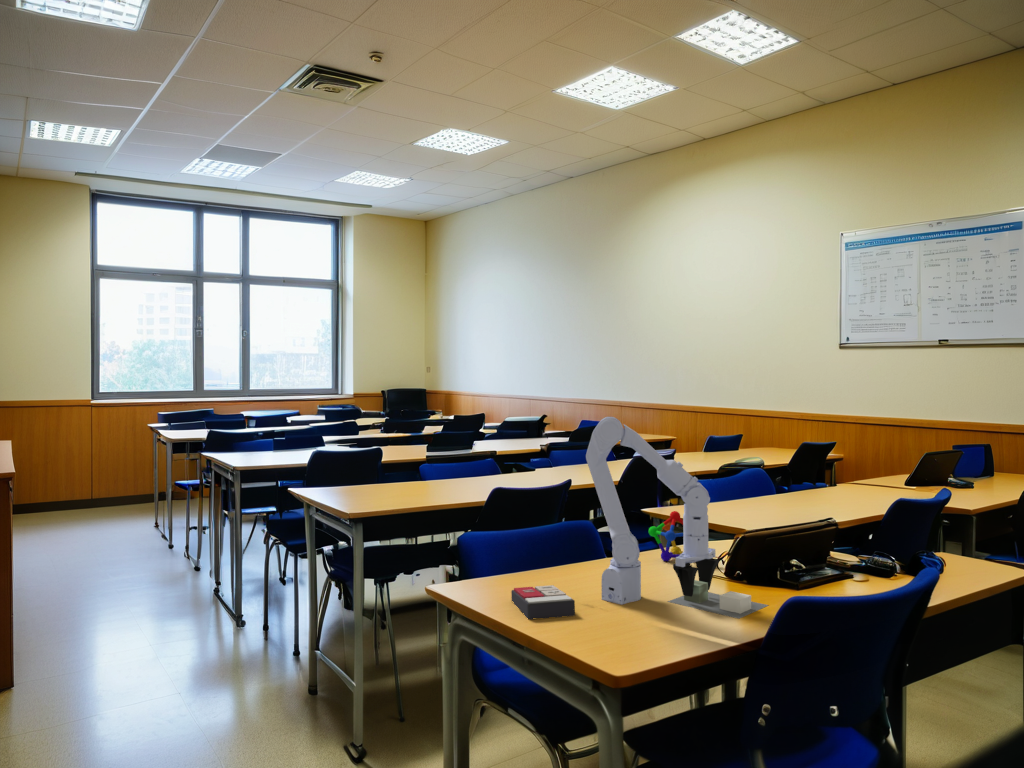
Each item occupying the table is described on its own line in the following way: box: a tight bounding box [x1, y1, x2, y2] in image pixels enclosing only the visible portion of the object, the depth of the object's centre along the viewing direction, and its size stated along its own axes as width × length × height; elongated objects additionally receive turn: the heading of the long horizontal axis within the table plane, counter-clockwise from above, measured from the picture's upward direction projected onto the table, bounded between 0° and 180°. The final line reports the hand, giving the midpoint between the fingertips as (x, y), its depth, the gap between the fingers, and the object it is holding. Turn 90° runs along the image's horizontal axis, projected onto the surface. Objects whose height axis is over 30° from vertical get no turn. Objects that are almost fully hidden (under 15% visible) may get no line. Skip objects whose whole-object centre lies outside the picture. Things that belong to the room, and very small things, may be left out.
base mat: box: [667, 591, 770, 620], centre depth 164 cm, size 14×18×1 cm
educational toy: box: [648, 510, 684, 562], centre depth 212 cm, size 16×13×15 cm
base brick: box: [719, 590, 752, 614], centre depth 160 cm, size 5×5×3 cm
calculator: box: [510, 584, 576, 620], centre depth 164 cm, size 11×4×15 cm
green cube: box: [683, 579, 709, 603], centre depth 167 cm, size 4×4×4 cm
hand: (696, 592), depth 167 cm, fingers open, 7 cm apart
